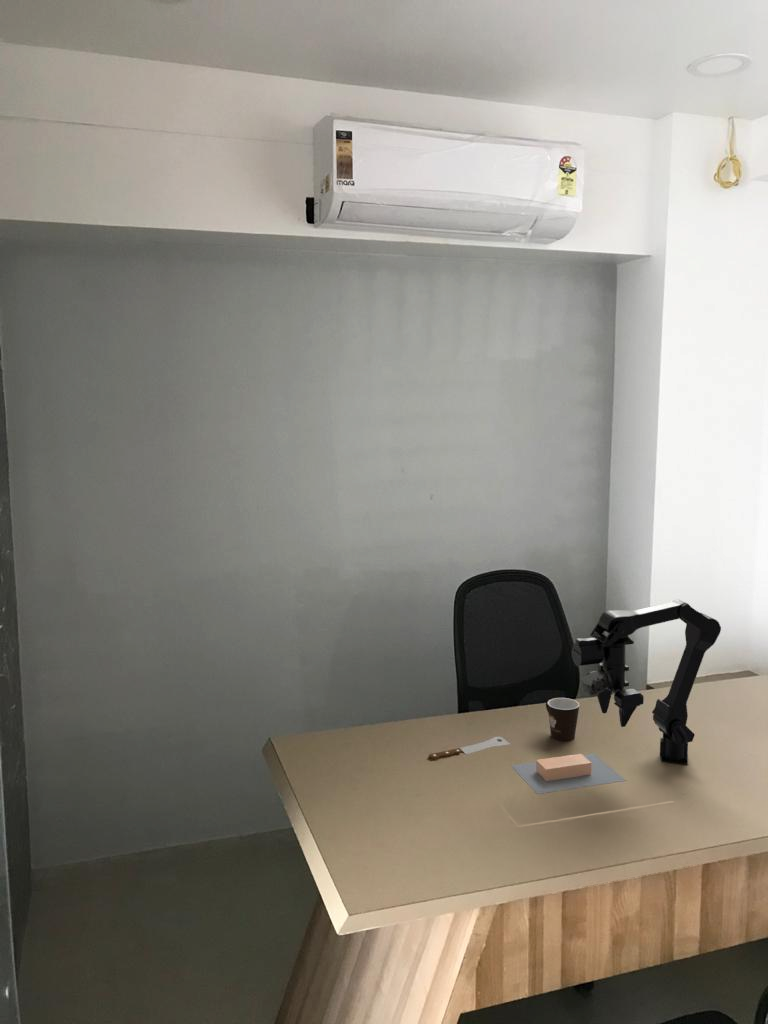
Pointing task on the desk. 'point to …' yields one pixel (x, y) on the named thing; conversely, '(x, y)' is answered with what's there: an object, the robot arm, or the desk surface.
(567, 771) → the tall peach block
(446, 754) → the kitchen cleaver
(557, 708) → the coffee mug
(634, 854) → the desk surface
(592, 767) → the felt mat
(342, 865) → the desk surface
